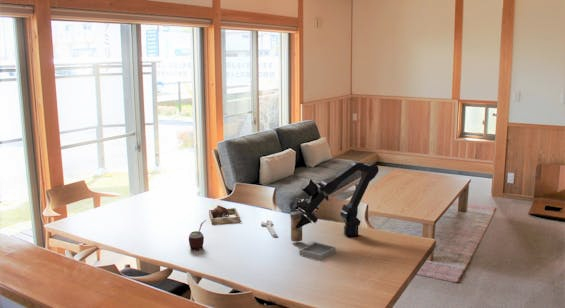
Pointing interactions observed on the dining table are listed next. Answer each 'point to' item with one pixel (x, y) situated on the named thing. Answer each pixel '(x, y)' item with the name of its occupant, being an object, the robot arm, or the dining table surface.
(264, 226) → the adjustable wrench
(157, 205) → the dining table surface
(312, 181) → the robot arm
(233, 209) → the tray
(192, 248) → the mate gourd
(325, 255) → the tray
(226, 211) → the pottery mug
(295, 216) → the walnut canister
